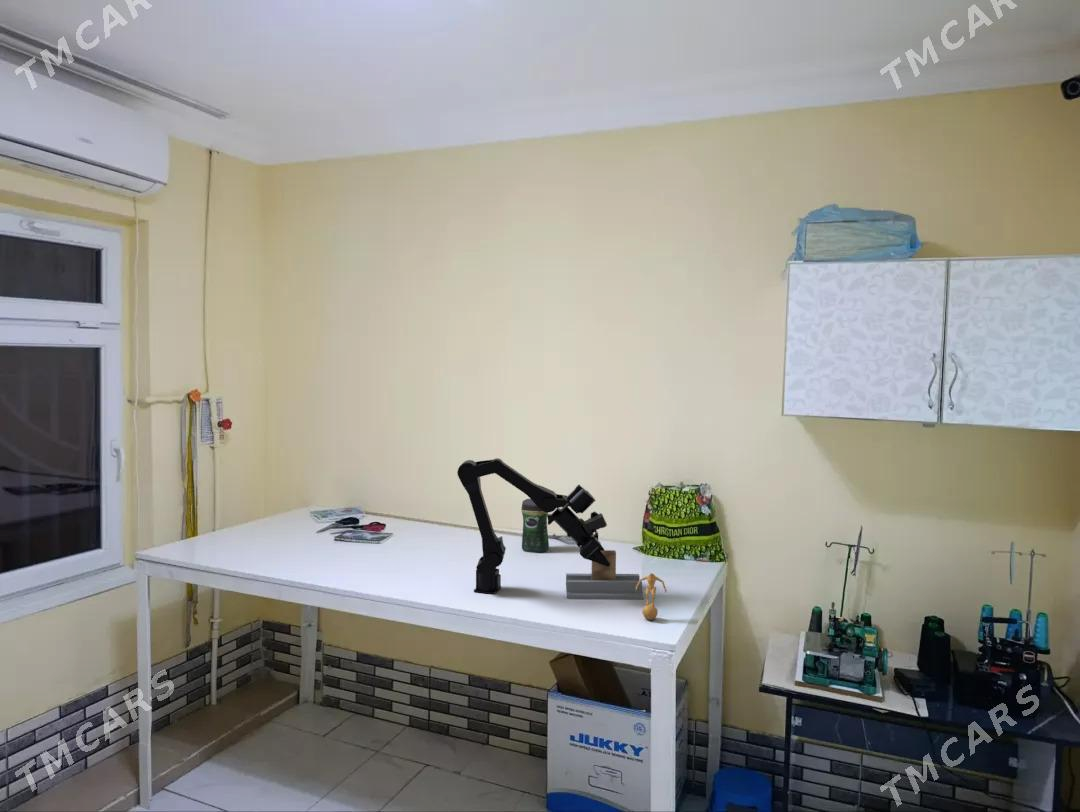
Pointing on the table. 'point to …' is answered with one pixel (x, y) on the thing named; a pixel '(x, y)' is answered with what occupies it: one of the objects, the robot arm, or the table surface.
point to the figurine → (650, 609)
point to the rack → (603, 587)
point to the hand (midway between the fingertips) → (608, 561)
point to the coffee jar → (534, 527)
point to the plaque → (605, 567)
